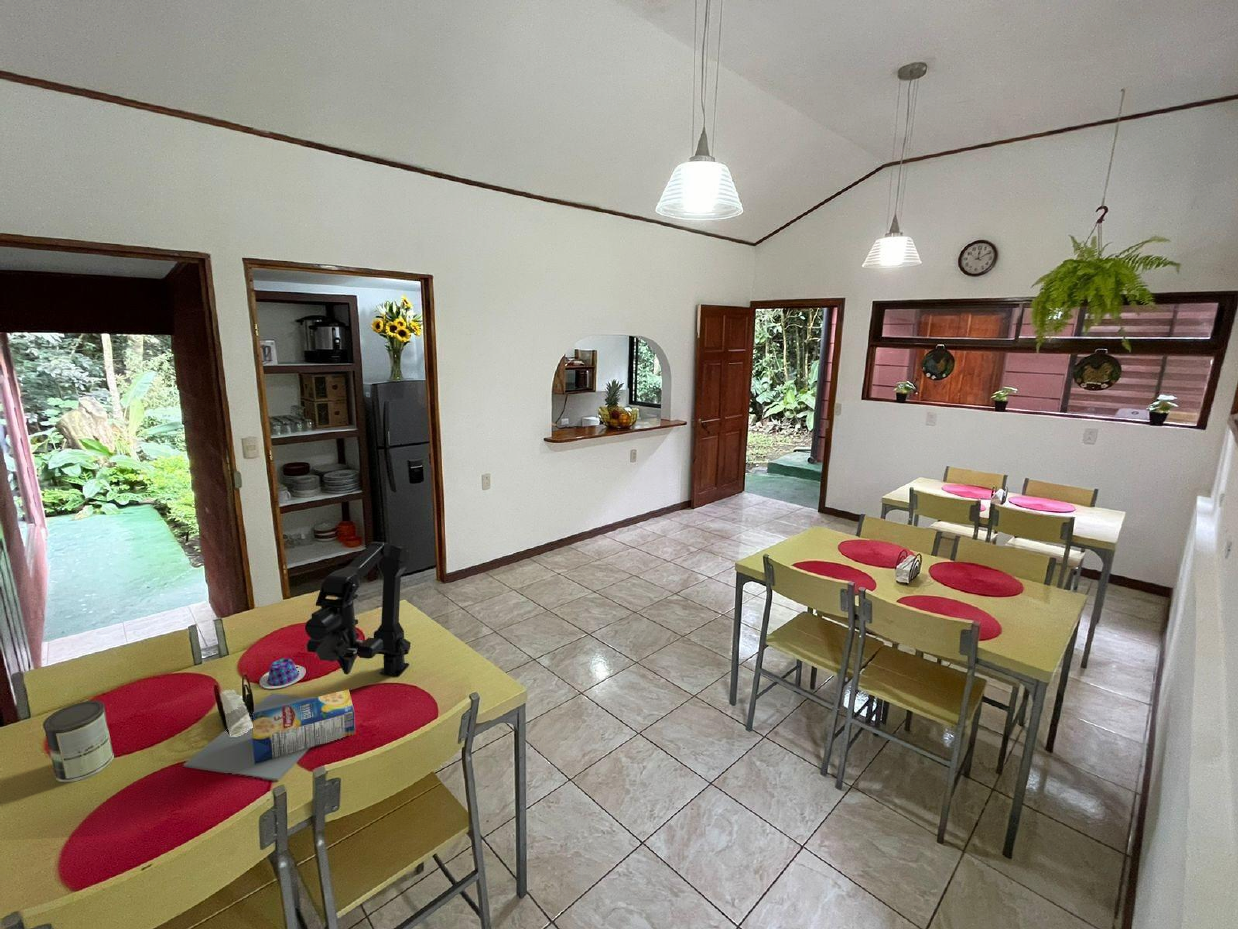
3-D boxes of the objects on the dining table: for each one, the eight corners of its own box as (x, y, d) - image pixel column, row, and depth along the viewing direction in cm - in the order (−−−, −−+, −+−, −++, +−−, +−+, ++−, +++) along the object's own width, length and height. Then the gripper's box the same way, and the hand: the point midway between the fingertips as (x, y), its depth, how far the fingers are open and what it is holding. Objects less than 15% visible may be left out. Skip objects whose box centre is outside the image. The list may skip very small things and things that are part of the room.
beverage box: (355, 735, 145) (254, 764, 134) (349, 711, 154) (254, 736, 143) (354, 711, 144) (252, 739, 132) (348, 689, 153) (252, 713, 141)
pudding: (293, 662, 177) (291, 648, 175) (313, 676, 170) (312, 660, 169) (252, 681, 167) (250, 665, 166) (271, 696, 160) (269, 679, 159)
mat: (271, 694, 160) (271, 693, 160) (351, 705, 157) (351, 703, 157) (183, 766, 133) (183, 764, 133) (278, 781, 130) (277, 779, 130)
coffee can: (41, 784, 127) (29, 730, 124) (80, 751, 137) (69, 700, 134) (90, 782, 128) (79, 728, 125) (125, 749, 138) (115, 699, 135)
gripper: (288, 632, 140) (294, 687, 143) (356, 639, 137) (361, 696, 141) (318, 611, 151) (323, 663, 154) (382, 618, 148) (386, 671, 151)
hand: (347, 673), depth 150 cm, fingers closed
